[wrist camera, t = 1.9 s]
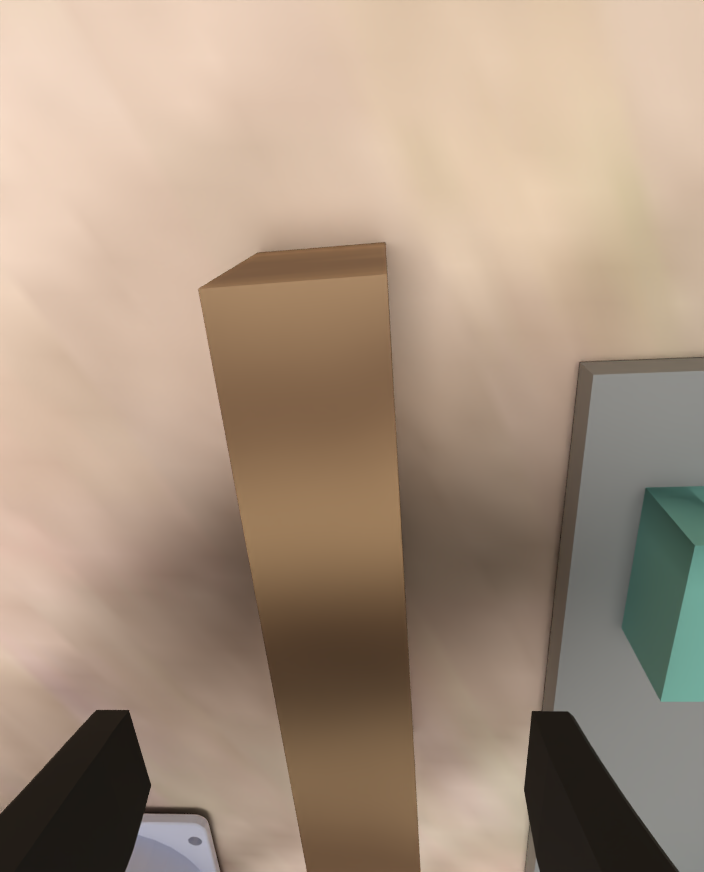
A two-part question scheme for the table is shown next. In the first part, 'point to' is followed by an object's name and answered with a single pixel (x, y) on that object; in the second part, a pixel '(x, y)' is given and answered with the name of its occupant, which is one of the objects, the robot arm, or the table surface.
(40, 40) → the table surface
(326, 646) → the slat
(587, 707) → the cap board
